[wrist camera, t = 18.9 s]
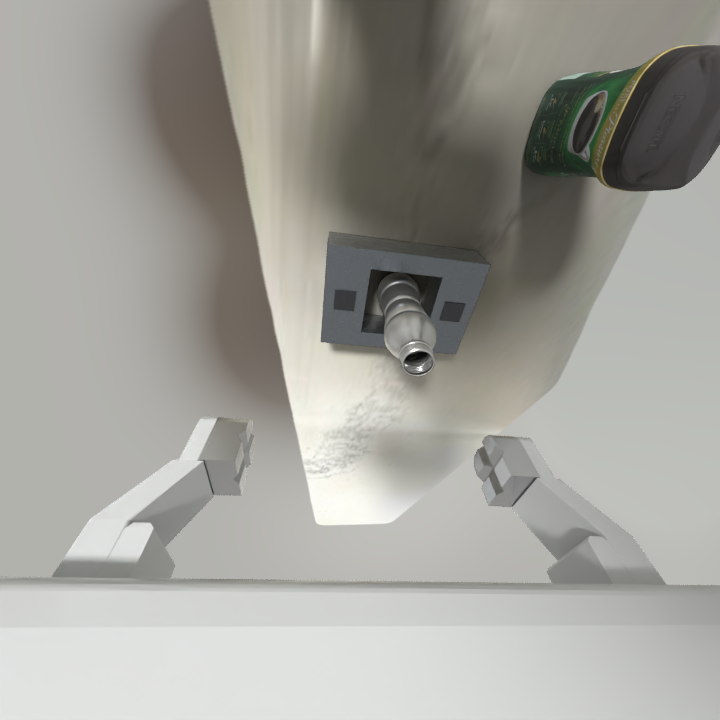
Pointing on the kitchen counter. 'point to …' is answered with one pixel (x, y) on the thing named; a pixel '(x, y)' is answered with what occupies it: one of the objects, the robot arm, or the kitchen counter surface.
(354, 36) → the kitchen counter surface
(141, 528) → the robot arm
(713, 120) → the coffee jar
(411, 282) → the silver bottle
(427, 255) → the grey slotted block
